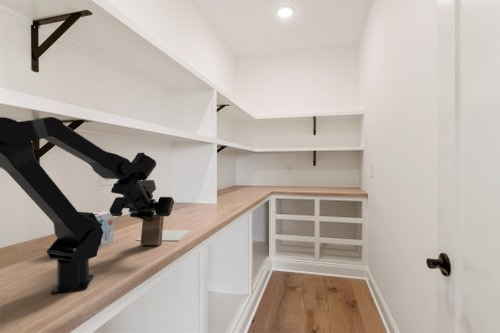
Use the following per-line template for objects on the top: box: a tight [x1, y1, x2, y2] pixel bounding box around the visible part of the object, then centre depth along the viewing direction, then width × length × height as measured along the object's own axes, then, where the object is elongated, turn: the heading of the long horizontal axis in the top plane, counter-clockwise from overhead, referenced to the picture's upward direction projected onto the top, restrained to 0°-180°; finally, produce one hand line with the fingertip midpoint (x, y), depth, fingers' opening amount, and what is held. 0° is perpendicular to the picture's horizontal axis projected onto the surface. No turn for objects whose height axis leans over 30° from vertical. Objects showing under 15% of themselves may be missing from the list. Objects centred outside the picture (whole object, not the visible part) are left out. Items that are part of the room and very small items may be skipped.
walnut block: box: [140, 213, 165, 246], centre depth 84 cm, size 3×6×10 cm, turn 87°
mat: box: [135, 229, 192, 242], centre depth 95 cm, size 14×16×1 cm
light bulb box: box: [73, 210, 115, 250], centre depth 84 cm, size 11×7×11 cm, turn 168°
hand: (151, 220), depth 83 cm, fingers closed
